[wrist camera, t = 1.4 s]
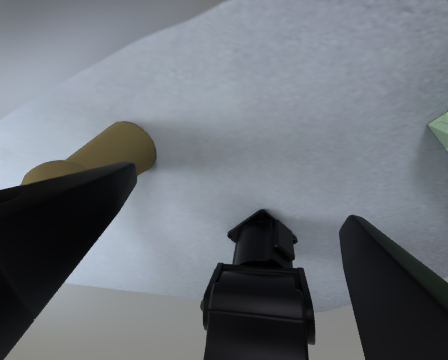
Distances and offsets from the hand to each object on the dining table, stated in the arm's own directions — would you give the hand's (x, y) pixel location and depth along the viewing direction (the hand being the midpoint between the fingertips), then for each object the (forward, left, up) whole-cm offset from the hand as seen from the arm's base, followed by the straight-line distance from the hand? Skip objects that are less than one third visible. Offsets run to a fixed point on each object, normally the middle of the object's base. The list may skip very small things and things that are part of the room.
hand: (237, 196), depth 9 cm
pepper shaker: (-12, +8, -13) cm, 19 cm away
